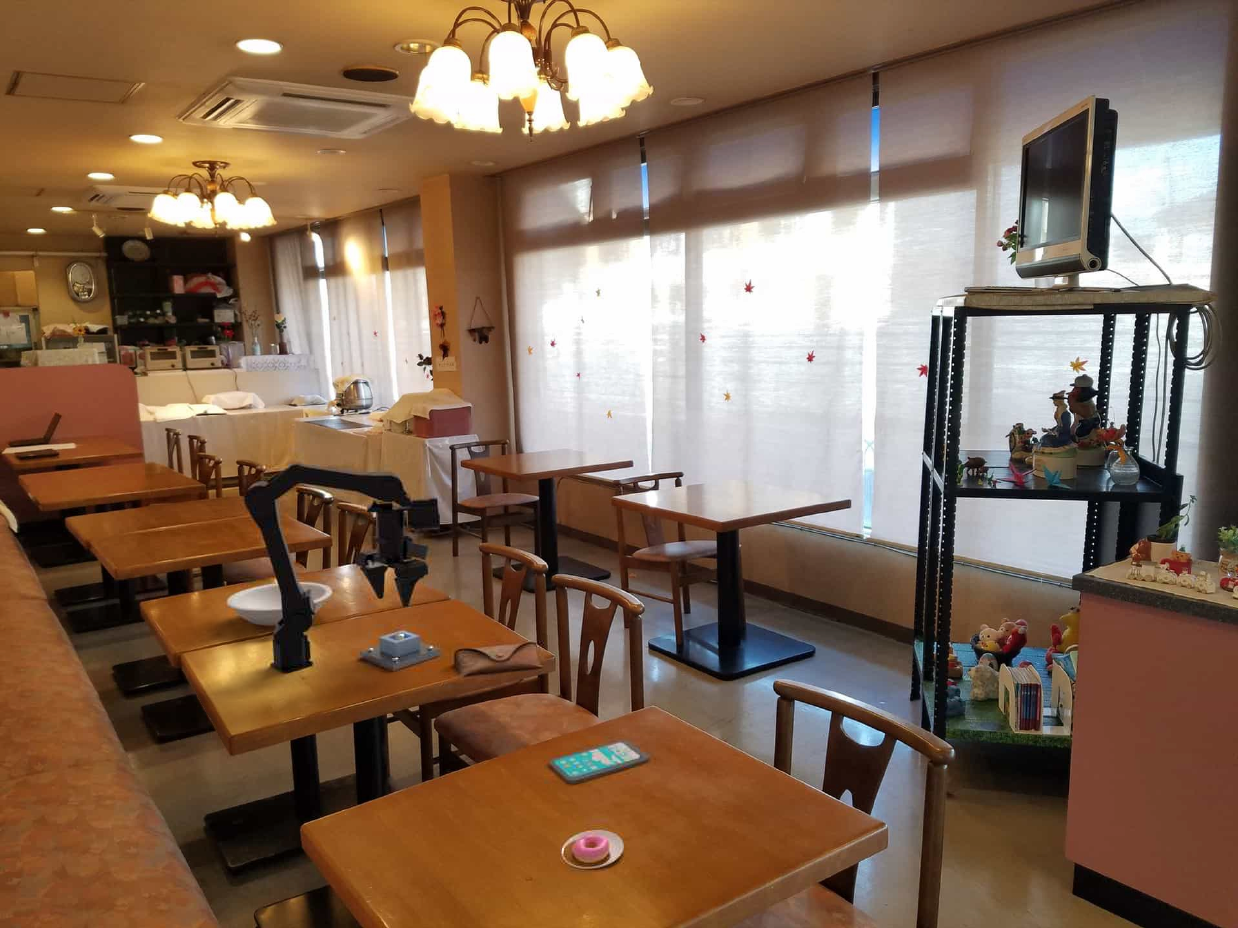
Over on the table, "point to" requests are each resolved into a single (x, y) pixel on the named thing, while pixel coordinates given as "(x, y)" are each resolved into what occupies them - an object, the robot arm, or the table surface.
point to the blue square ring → (399, 644)
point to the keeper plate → (400, 661)
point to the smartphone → (598, 761)
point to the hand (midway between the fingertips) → (393, 602)
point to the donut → (595, 847)
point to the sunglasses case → (496, 659)
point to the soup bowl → (270, 602)
